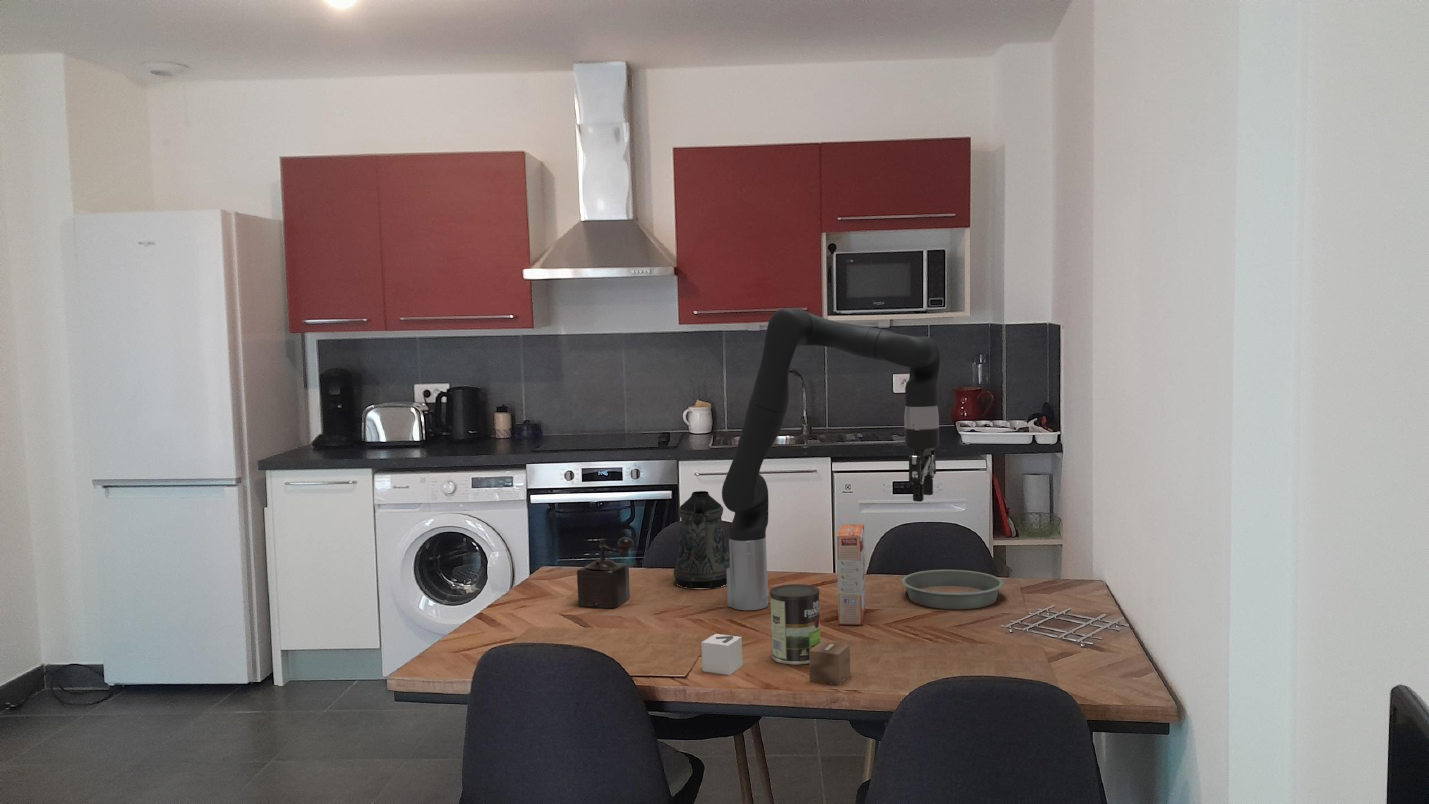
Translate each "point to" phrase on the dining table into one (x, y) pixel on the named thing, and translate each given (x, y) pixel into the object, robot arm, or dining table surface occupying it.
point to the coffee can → (794, 622)
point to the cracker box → (851, 574)
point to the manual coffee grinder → (605, 579)
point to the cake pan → (952, 579)
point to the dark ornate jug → (701, 544)
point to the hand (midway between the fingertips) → (923, 497)
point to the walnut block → (829, 662)
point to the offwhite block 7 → (722, 654)
